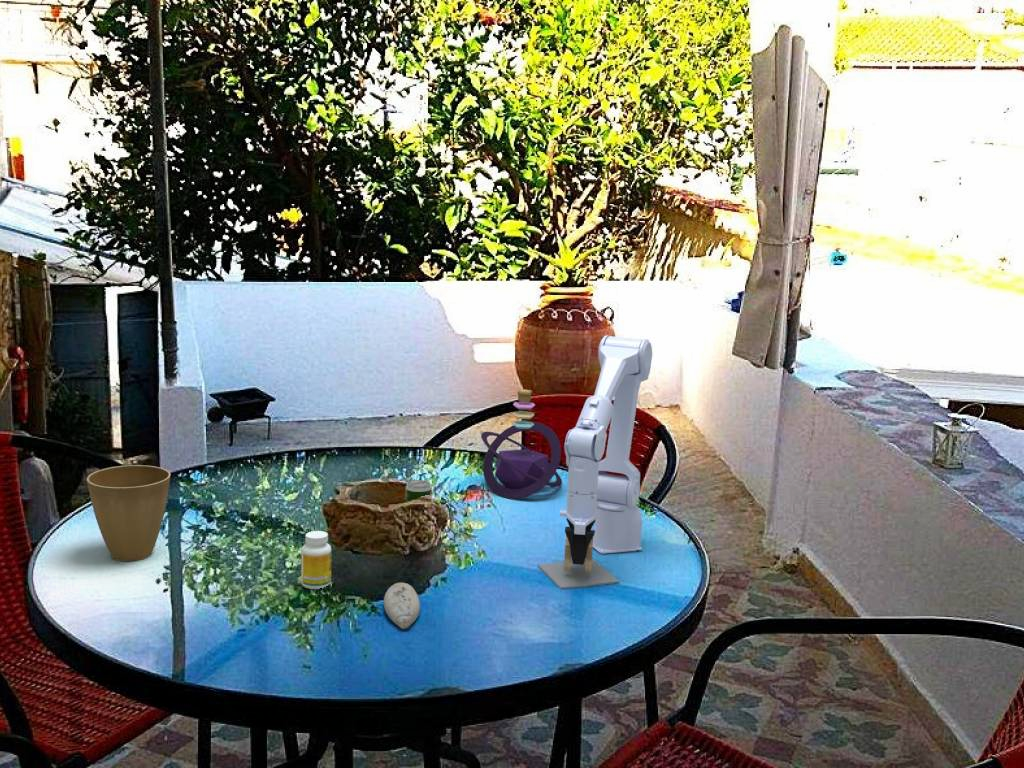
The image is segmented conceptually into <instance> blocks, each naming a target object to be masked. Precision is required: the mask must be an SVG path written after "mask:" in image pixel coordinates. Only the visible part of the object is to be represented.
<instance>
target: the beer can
mask: <svg viewBox="0 0 1024 768" xmlns="http://www.w3.org/2000/svg"><path fill="white" fill-rule="evenodd" d="M404 493H405V495H404V497H405V499H404V500H406V501H409V500H413V499H417V498H419V497H421V496H425V495H430V496H431V497H432V486H431V482H430V481H428V480H423V479H421V480H420V479H415V480H413V479H412V480H409V481H407V482H406V486H405V492H404Z"/></svg>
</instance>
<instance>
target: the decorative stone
mask: <svg viewBox="0 0 1024 768" xmlns="http://www.w3.org/2000/svg"><path fill="white" fill-rule="evenodd" d="M383 606H384V611H385V613H386V615H387V616H388V618H389V619H390V620H391V621H392V622H393V623H394V625H396V626H398V627H399V628H400V629H403V630H405V629H408V628H409V627H410V626H411V625H412V624H413V623H414V622H415V621H416V620H417V618H418V617H419V614H420V610H421V607H420V606H421V603H420V599H419V596H418V593H417V592H416V590H415V588H414V587H413V586H412V585H410V584H409V583H406V582H396V583H393V584H392V585H391V586H390V587H388V589H387V591H386V592H385V594H384V596H383Z"/></svg>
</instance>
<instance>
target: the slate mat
mask: <svg viewBox="0 0 1024 768" xmlns="http://www.w3.org/2000/svg"><path fill="white" fill-rule="evenodd" d="M585 561H586V559H585ZM537 567H538V568H539V569H540V570H541V571H542V572H543V573H544V574H545V575H546V576H547V577H548V579H550V580H551V581H552V582H553V583H554V584H555V586H557V587H558V588H559V589H560V590H565V589H577V588H586V587H597V586H607V585H606V584H608V585H615V584H614V583H618V584H620V580H618V579H617V578H616V577H615V576H614V575H613V574H612V573H611V572H609V571H608V570H607V569H606V568H604V567H603V566H602V565H601V564H600V563H598V561H596V560H595V559H593V558H592V568H591V572H585V562H584V564H583V565H579V564H573V563H572V560H571V567H570V571H567V570H564V561H562V562H550V563H537Z"/></svg>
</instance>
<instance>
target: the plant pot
mask: <svg viewBox="0 0 1024 768" xmlns="http://www.w3.org/2000/svg"><path fill="white" fill-rule="evenodd" d="M171 475H172V474H171V472H170V471H169V470H168V469H165V468H162V467H159V466H153V465H143V464H134V465H133V464H132V465H130V464H129V465H119V466H110V467H106V468H102V469H100V470H96V471H94V472H92V473H90V474H88V476H87V477H86V482H87V488H88V492H89V493H88V494H89V497H90V502H91V505H92V510H93V513H94V516H95V520H96V523H97V526H98V529H99V531H100V534H101V536H102V539H103V542H104V543H105V545H106V546H105V547H106V548H107V550H108V552H109V554H110V557H111V558H112V559H114V560H116V561H119V562H133V561H134V562H135V561H140V560H143V559H146V558H148V557H150V556H151V555H152V554H153V551H154V549H155V546H156V543H157V540H158V537H159V536H160V535H159V534H160V530H161V528H162V524H163V520H164V516H165V512H166V507H167V502H168V496H169V490H170V482H171Z"/></svg>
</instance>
